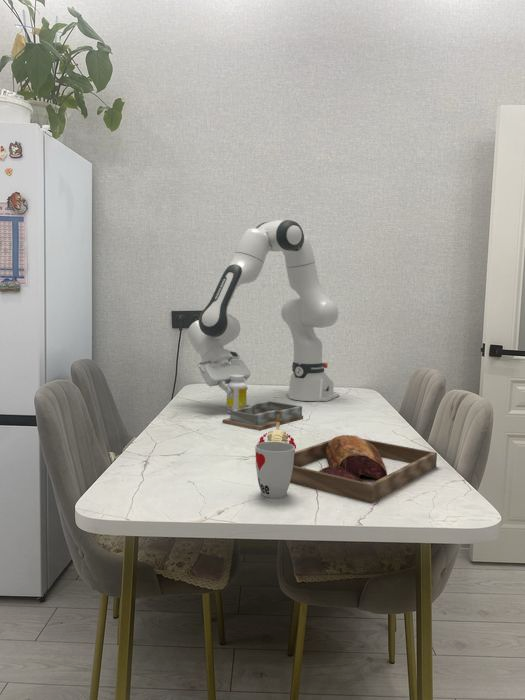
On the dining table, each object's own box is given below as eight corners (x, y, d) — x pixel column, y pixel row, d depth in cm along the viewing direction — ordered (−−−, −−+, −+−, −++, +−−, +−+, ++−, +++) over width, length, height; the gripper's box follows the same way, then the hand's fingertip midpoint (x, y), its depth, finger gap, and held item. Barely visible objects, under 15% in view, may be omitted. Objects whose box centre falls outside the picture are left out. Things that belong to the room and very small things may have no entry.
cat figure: (259, 444, 169) (254, 462, 144) (260, 413, 168) (255, 425, 144) (295, 445, 168) (296, 463, 143) (295, 414, 168) (297, 427, 143)
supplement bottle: (247, 411, 207) (248, 374, 206) (244, 415, 201) (245, 377, 199) (228, 410, 208) (228, 373, 207) (225, 414, 201) (225, 376, 200)
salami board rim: (343, 447, 161) (343, 435, 160) (436, 466, 145) (436, 452, 144) (268, 476, 135) (268, 461, 135) (371, 503, 119) (372, 486, 119)
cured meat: (312, 489, 127) (314, 458, 126) (307, 457, 152) (308, 431, 151) (397, 494, 127) (400, 462, 126) (378, 461, 152) (380, 434, 151)
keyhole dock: (267, 412, 206) (267, 400, 206) (303, 418, 197) (303, 406, 197) (222, 422, 188) (222, 410, 188) (259, 430, 179) (260, 417, 179)
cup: (253, 487, 127) (253, 441, 126) (290, 487, 128) (292, 441, 127) (255, 501, 119) (256, 451, 118) (296, 500, 120) (297, 451, 119)
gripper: (201, 356, 198) (222, 389, 193) (240, 352, 214) (261, 382, 209) (191, 368, 202) (212, 401, 197) (231, 363, 218) (251, 393, 213)
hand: (238, 391), depth 203 cm, fingers closed on supplement bottle, 7 cm apart
